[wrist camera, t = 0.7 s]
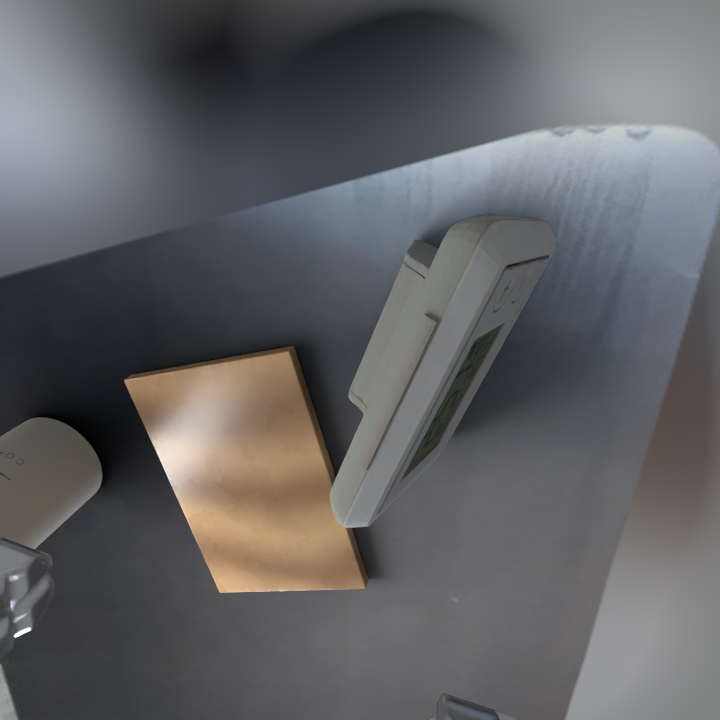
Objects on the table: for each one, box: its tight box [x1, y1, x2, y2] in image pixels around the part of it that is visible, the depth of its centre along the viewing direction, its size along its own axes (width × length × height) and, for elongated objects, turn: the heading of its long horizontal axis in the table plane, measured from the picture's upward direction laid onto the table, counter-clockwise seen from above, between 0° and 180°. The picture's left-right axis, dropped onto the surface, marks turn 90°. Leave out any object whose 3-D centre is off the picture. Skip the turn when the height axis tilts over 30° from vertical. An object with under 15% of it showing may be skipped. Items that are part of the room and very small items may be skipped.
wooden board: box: [124, 346, 368, 592], centre depth 37 cm, size 20×13×1 cm, turn 15°
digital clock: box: [330, 215, 557, 528], centre depth 25 cm, size 16×9×11 cm, turn 148°
